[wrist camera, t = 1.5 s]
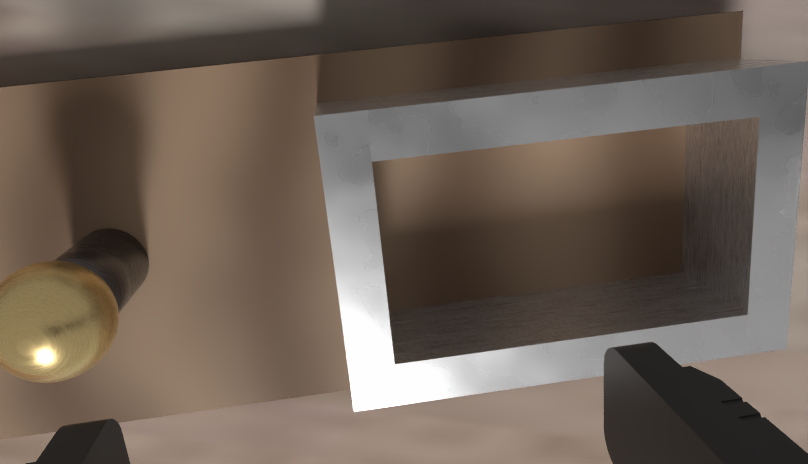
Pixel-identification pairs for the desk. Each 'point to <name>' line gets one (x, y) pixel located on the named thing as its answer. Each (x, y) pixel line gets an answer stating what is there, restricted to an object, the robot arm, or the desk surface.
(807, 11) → the desk surface
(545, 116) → the grey rectangular frame
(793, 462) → the robot arm
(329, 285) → the brown wooden board
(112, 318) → the post
